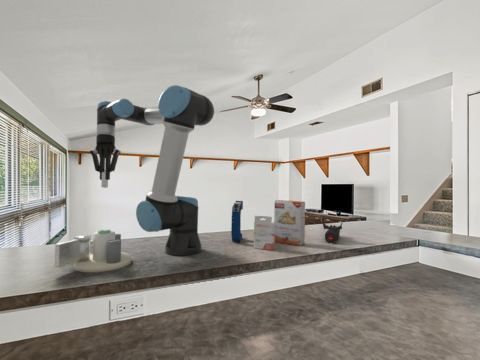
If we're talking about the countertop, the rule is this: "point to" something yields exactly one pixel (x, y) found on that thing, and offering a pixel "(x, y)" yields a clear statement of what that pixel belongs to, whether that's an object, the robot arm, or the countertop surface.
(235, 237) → the handheld scanner
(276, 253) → the countertop surface
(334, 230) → the horned monster figurine
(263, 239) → the ink cartridge box
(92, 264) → the base
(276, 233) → the cracker box
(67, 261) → the wing knob
